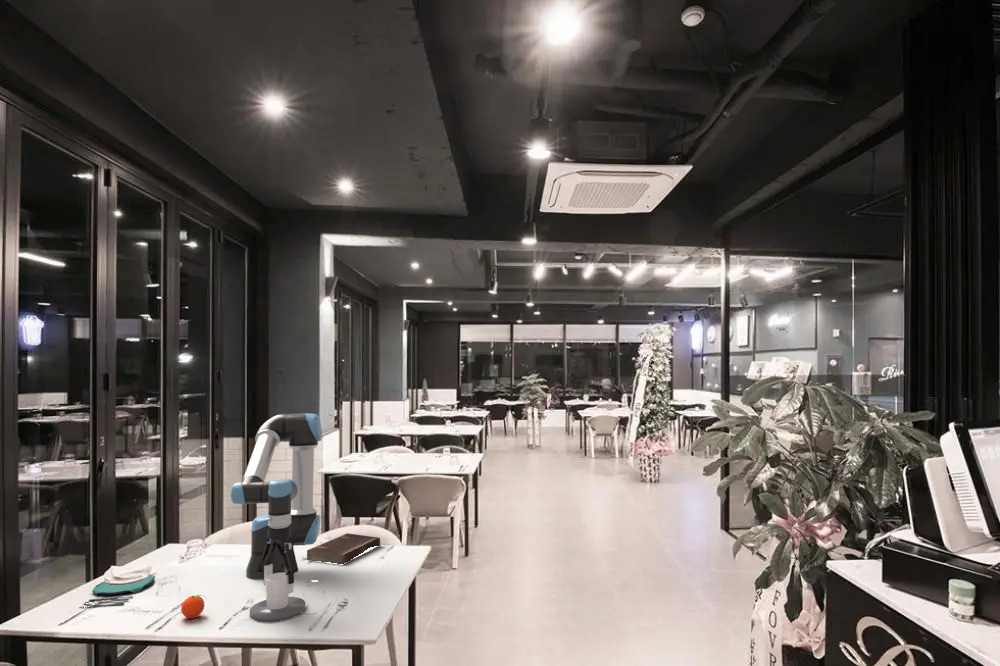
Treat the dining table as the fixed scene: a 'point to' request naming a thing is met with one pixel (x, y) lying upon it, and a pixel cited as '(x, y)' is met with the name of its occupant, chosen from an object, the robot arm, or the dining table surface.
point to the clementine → (192, 606)
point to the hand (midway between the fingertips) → (278, 588)
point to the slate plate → (267, 615)
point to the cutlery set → (119, 591)
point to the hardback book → (342, 548)
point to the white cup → (276, 591)
